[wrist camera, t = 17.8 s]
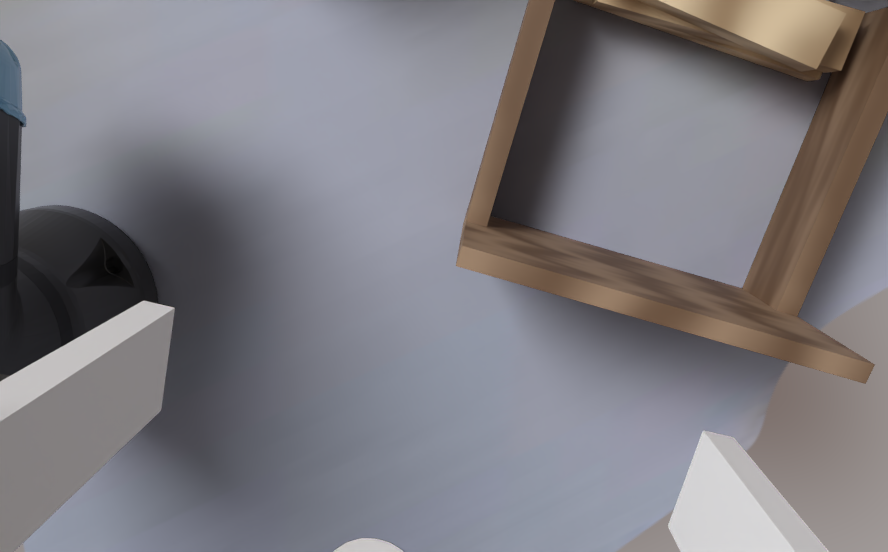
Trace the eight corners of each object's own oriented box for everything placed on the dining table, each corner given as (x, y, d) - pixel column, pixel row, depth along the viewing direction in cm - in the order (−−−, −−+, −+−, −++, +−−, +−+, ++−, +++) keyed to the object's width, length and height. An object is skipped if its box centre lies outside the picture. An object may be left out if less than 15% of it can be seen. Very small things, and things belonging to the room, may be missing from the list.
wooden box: (463, 223, 50) (455, 265, 36) (550, -74, 45) (583, -168, 30) (754, 307, 50) (865, 383, 36) (875, 22, 45) (1063, -26, 30)
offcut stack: (571, 5, 46) (584, -11, 40) (595, -62, 45) (612, -89, 39) (805, 86, 47) (851, 82, 41) (835, 22, 45) (887, 7, 40)
